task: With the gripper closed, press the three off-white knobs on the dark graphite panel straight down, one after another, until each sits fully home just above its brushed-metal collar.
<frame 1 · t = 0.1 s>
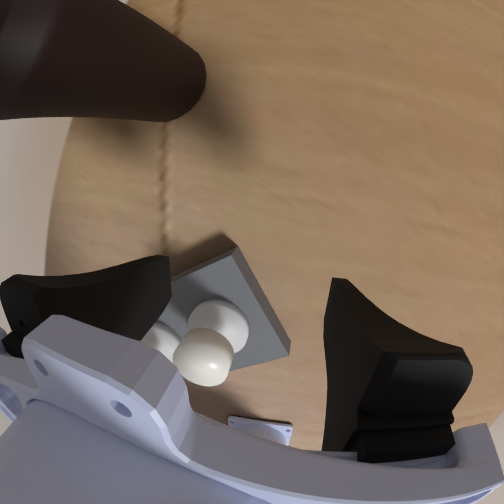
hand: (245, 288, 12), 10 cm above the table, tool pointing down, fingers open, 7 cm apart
bottle: (169, 83, 19), on the table
knob panel: (169, 331, 27), on the table
knob c: (203, 357, 19), point 6 cm above the table, slide at 0.0 cm
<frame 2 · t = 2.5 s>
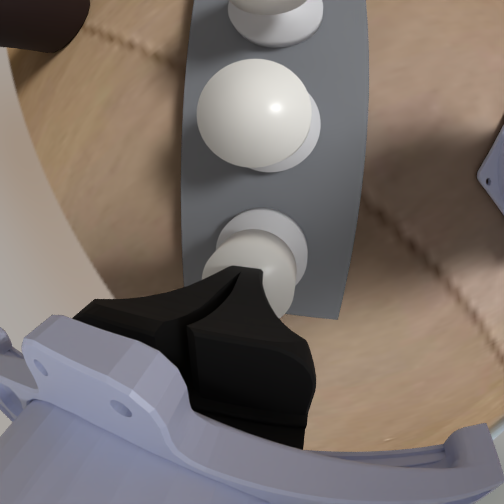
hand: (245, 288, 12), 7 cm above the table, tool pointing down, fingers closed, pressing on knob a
knob b: (257, 114, 10), point 6 cm above the table, slide at 0.0 cm
bottle: (67, 22, 14), on the table
knob panel: (275, 127, 15), on the table
knob a: (251, 277, 13), point 6 cm above the table, slide at 0.7 cm, touching gripper
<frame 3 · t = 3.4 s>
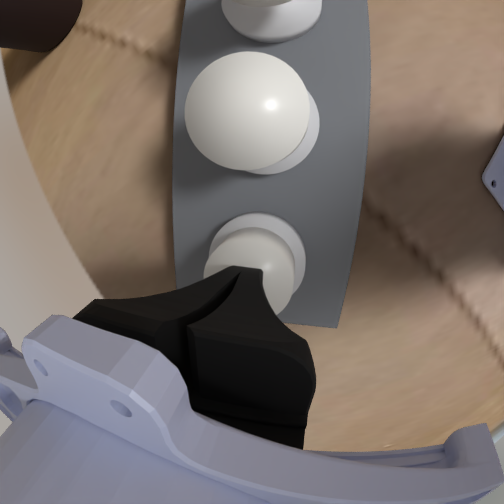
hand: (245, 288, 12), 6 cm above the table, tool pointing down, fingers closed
knob b: (250, 112, 9), point 6 cm above the table, slide at 0.0 cm
bottle: (59, 21, 13), on the table
knob panel: (271, 126, 15), on the table
knob a: (251, 274, 13), point 4 cm above the table, slide at 2.1 cm
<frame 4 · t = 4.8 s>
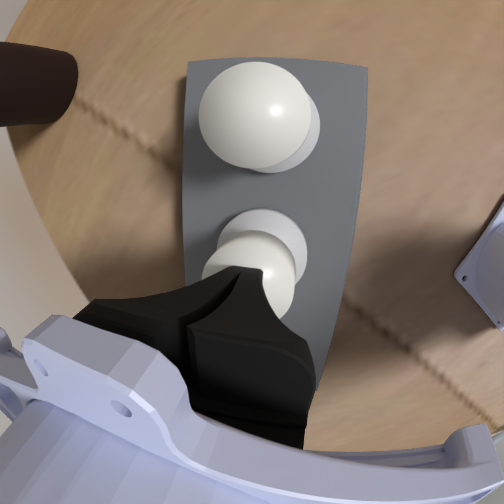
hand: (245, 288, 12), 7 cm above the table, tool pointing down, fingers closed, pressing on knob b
knob b: (250, 278, 13), point 6 cm above the table, slide at 0.5 cm, touching gripper
bottle: (57, 87, 17), on the table
knob panel: (268, 239, 18), on the table
knob c: (257, 116, 10), point 6 cm above the table, slide at 0.0 cm
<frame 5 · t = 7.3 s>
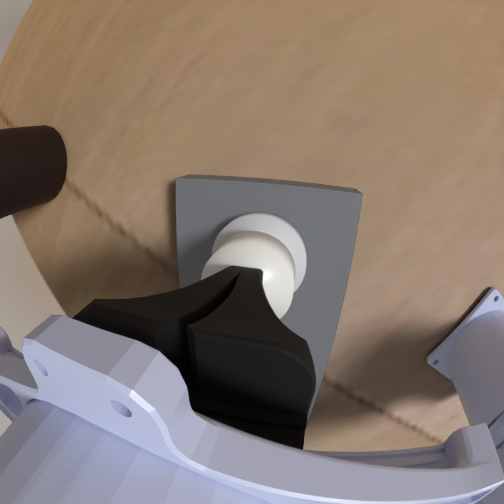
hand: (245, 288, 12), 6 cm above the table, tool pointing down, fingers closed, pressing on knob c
bottle: (47, 162, 19), on the table
knob panel: (258, 335, 20), on the table
knob c: (250, 279, 13), point 5 cm above the table, slide at 1.4 cm, touching gripper
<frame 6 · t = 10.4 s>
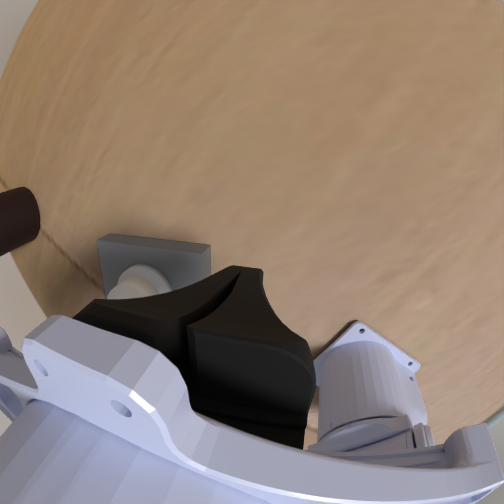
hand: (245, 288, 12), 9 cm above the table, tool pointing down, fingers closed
bottle: (27, 213, 26), on the table
knob panel: (166, 341, 27), on the table
knob c: (134, 304, 20), point 4 cm above the table, slide at 2.1 cm
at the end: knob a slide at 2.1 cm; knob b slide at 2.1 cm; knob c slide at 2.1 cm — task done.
